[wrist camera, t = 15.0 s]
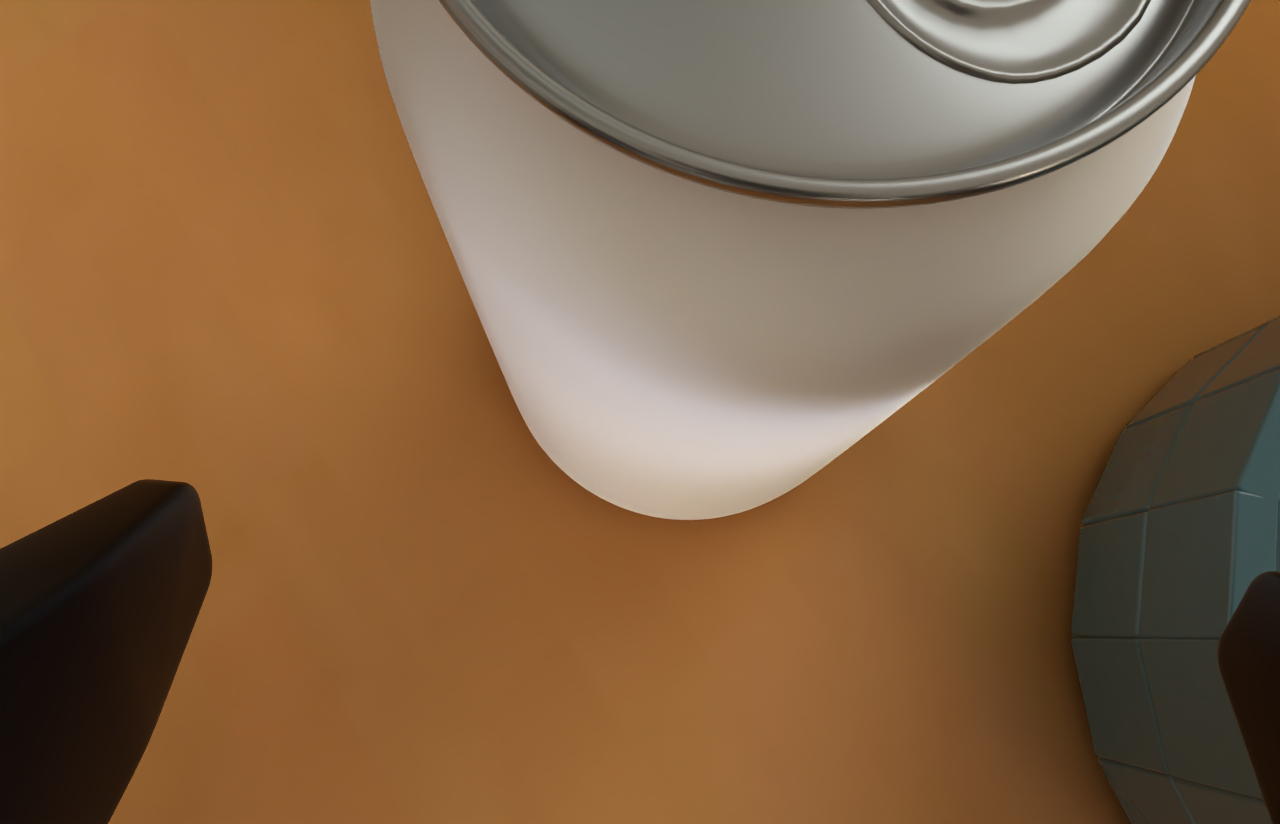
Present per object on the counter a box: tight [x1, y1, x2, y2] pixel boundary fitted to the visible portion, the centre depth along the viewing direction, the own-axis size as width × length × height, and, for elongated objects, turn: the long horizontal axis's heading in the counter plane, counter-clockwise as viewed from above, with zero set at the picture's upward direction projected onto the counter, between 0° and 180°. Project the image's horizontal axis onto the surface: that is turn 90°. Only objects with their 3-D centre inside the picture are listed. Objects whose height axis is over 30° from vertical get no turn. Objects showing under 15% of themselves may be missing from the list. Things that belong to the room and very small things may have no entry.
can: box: [370, 0, 1250, 520], centre depth 12 cm, size 6×6×12 cm
